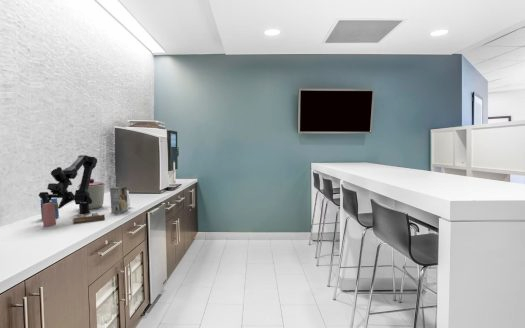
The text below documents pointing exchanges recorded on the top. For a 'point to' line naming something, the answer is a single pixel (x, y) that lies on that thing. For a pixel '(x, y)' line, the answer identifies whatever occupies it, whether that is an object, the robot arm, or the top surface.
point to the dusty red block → (49, 214)
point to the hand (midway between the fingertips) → (50, 208)
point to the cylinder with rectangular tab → (128, 199)
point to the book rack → (88, 218)
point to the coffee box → (118, 199)
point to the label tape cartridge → (55, 207)
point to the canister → (96, 193)
